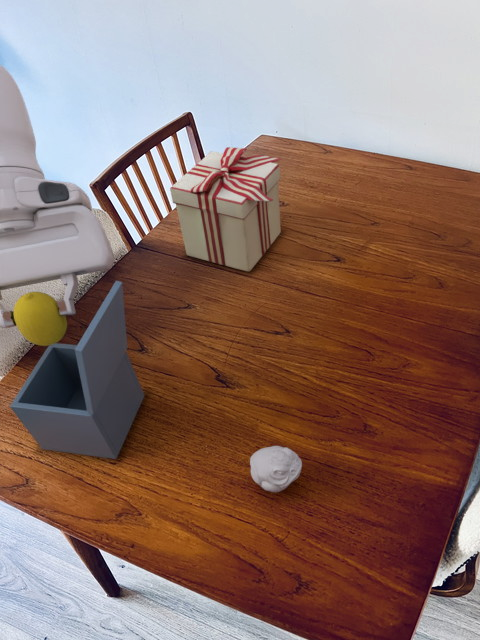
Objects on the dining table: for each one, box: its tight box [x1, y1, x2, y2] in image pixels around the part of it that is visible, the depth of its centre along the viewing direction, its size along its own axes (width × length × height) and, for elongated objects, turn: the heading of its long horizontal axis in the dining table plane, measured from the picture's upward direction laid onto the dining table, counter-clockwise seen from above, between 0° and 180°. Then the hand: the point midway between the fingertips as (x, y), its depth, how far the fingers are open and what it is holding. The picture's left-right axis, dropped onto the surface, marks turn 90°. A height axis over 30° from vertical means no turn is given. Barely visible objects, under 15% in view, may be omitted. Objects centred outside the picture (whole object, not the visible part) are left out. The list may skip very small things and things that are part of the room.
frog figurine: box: [249, 445, 303, 493], centre depth 66 cm, size 6×7×7 cm
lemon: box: [13, 291, 68, 347], centre depth 63 cm, size 6×6×8 cm
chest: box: [9, 342, 145, 460], centre depth 74 cm, size 12×12×10 cm
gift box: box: [169, 146, 283, 273], centre depth 98 cm, size 17×18×17 cm
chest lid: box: [75, 280, 128, 414], centre depth 64 cm, size 12×12×1 cm
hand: (39, 320), depth 62 cm, fingers closed on lemon, 5 cm apart
